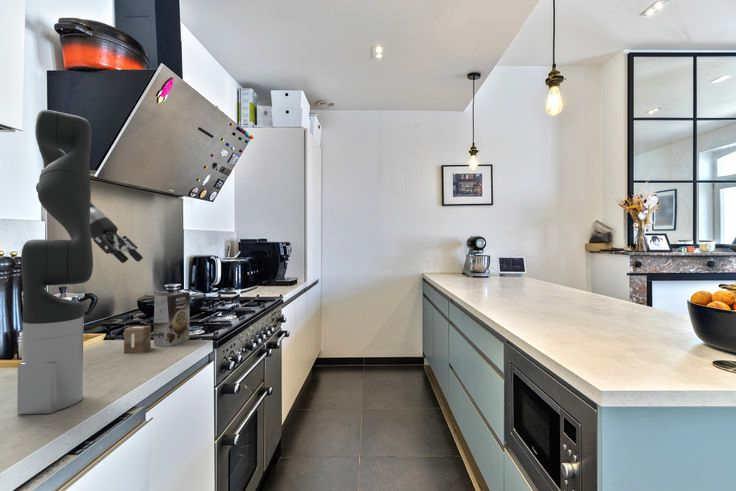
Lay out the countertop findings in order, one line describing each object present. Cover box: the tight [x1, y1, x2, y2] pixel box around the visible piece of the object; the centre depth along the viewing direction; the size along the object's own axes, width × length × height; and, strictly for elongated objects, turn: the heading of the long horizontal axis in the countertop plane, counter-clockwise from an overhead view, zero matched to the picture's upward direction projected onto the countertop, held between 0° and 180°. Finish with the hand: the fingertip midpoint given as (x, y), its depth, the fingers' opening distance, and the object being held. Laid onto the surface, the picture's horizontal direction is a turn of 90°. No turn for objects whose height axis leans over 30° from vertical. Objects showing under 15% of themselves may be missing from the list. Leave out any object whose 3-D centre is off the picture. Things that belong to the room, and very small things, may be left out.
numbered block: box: [123, 325, 152, 354], centre depth 107 cm, size 5×5×7 cm
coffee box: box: [152, 291, 191, 347], centre depth 116 cm, size 9×6×16 cm
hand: (133, 260), depth 115 cm, fingers open, 8 cm apart
